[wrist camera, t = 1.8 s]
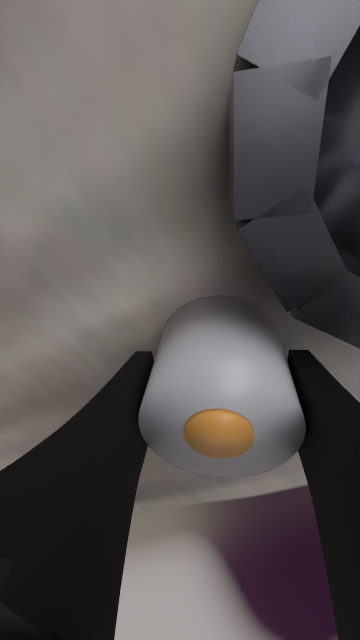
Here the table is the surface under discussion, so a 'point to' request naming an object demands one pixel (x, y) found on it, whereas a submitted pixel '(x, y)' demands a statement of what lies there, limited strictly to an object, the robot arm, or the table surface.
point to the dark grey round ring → (301, 157)
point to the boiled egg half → (221, 392)
